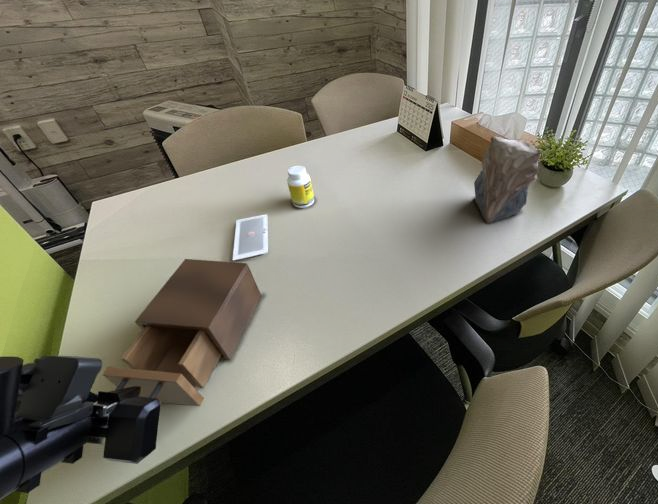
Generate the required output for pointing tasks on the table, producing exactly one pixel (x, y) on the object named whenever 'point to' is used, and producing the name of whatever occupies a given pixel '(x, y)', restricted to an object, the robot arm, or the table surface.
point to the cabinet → (206, 301)
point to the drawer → (168, 364)
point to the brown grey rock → (505, 178)
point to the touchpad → (251, 237)
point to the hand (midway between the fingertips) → (138, 389)
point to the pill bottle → (300, 187)
